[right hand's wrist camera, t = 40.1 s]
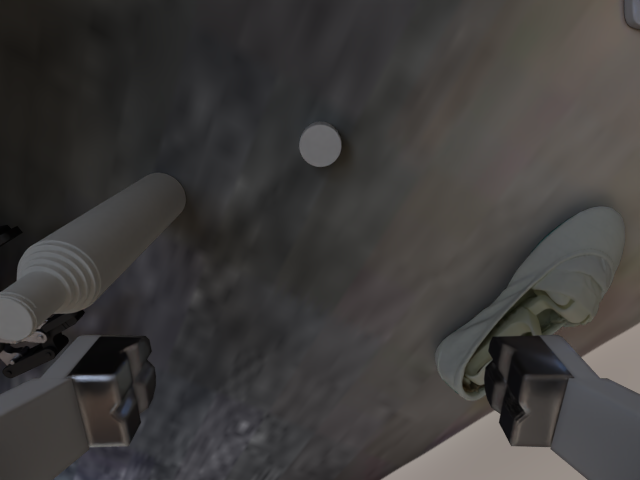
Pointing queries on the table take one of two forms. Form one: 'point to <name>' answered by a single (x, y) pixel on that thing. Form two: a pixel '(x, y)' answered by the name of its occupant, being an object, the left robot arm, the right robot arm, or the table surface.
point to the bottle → (87, 254)
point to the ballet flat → (539, 295)
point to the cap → (320, 144)
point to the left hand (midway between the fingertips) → (48, 270)
